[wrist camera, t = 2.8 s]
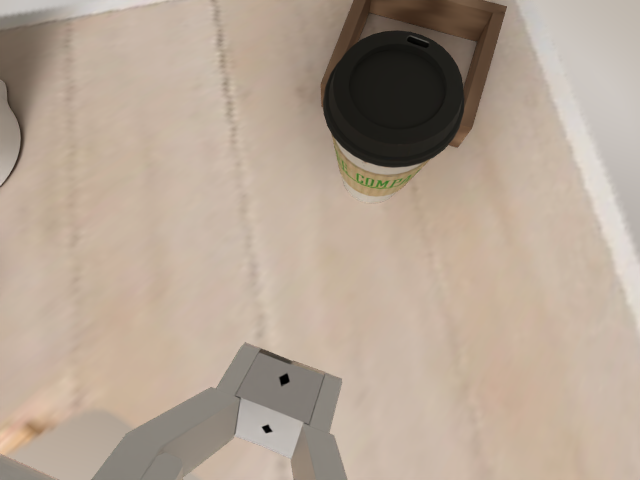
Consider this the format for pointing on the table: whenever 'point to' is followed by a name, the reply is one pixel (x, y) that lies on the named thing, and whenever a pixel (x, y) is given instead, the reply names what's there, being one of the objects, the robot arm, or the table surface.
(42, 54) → the table surface
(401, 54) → the coffee cup
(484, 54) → the walnut caddy
